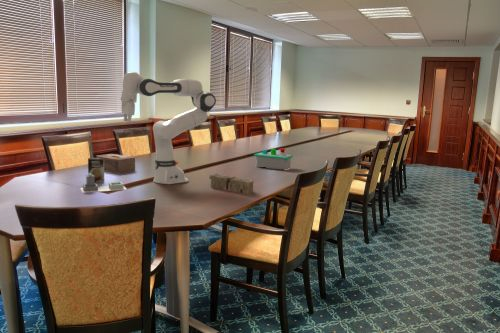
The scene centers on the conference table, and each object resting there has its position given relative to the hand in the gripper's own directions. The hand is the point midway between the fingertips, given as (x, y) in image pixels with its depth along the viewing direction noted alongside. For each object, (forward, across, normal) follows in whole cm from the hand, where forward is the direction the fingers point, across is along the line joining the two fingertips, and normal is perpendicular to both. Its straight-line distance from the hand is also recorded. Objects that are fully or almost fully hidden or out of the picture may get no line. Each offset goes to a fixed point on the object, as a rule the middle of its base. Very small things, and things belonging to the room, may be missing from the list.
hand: (127, 121), depth 251 cm
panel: (+40, -14, +13) cm, 45 cm away
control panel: (+27, +22, -122) cm, 127 cm away
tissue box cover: (+39, +49, -5) cm, 63 cm away
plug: (+40, -14, +20) cm, 46 cm away
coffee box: (+41, +6, +14) cm, 43 cm away
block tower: (+34, -35, -59) cm, 76 cm away
